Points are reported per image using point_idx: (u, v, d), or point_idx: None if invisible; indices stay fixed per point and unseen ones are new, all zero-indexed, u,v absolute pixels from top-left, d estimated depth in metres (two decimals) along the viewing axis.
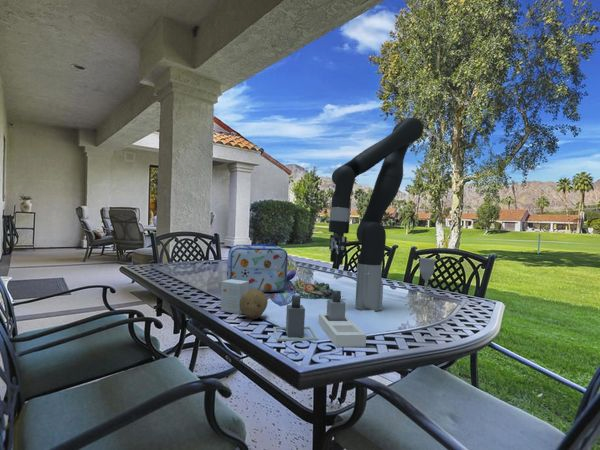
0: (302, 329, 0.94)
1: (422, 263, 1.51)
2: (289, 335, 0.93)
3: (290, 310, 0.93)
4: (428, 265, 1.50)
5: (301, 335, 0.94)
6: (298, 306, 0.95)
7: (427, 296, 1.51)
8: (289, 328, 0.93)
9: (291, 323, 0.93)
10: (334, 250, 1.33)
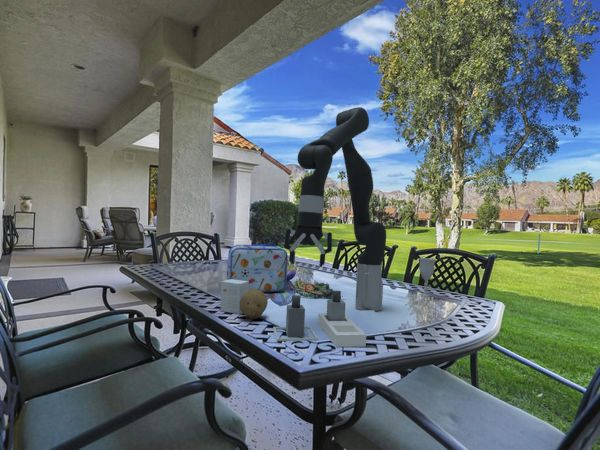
0: (302, 329, 0.94)
1: (422, 263, 1.51)
2: (289, 335, 0.93)
3: (290, 310, 0.93)
4: (428, 265, 1.50)
5: (301, 335, 0.94)
6: (298, 306, 0.95)
7: (427, 296, 1.51)
8: (289, 328, 0.93)
9: (291, 323, 0.93)
10: (294, 249, 1.05)
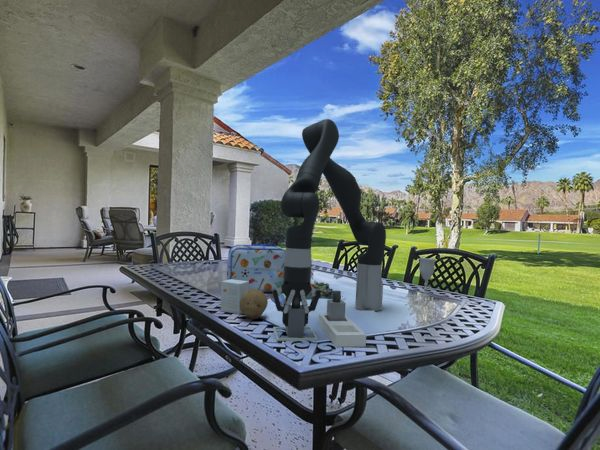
0: (302, 329, 0.94)
1: (422, 263, 1.51)
2: (289, 335, 0.93)
3: (290, 310, 0.93)
4: (428, 265, 1.50)
5: (301, 335, 0.94)
6: (298, 306, 0.95)
7: (427, 296, 1.51)
8: (289, 328, 0.93)
9: (291, 323, 0.93)
10: None
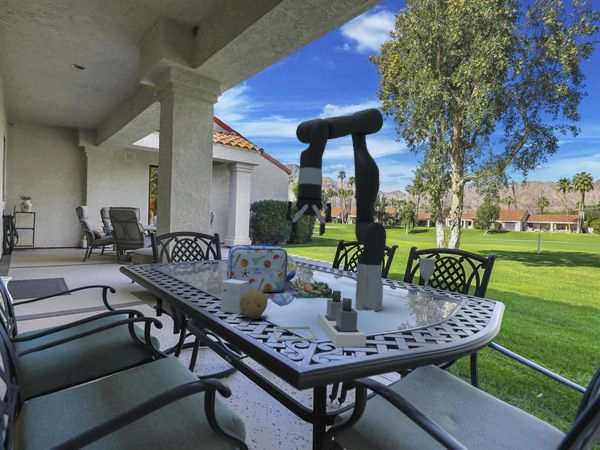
0: None
1: (422, 263, 1.51)
2: None
3: (342, 314, 0.90)
4: (428, 265, 1.50)
5: None
6: (350, 309, 0.92)
7: (427, 296, 1.51)
8: None
9: (344, 327, 0.91)
10: None
